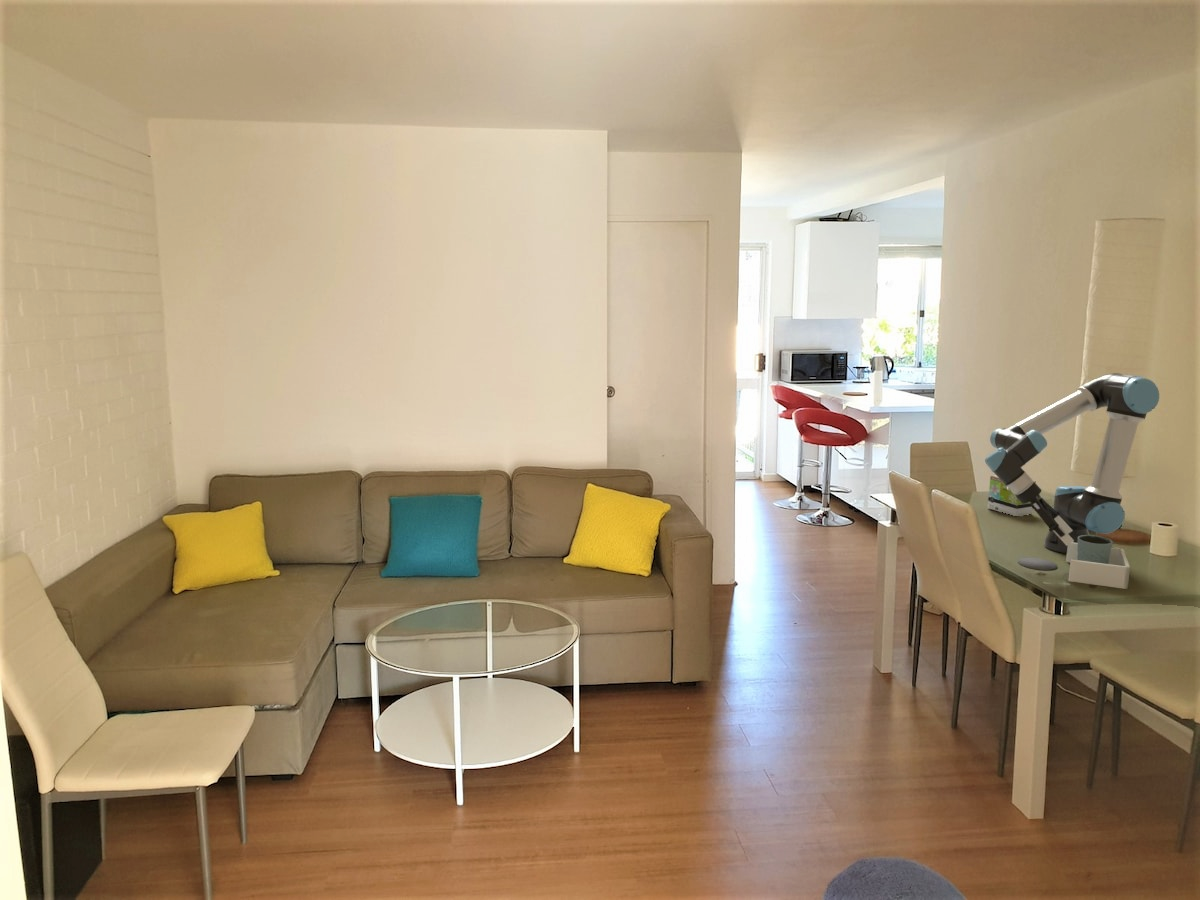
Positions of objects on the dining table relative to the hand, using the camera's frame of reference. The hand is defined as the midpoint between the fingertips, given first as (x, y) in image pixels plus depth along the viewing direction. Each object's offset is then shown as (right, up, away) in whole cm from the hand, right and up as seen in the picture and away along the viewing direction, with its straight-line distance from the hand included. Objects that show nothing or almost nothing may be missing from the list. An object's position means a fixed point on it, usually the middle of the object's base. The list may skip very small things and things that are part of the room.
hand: (1069, 538), depth 290 cm
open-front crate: (+8, -12, -1) cm, 14 cm away
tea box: (+17, +3, +79) cm, 81 cm away
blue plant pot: (+7, -12, 0) cm, 14 cm away
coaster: (-6, -10, +9) cm, 15 cm away
